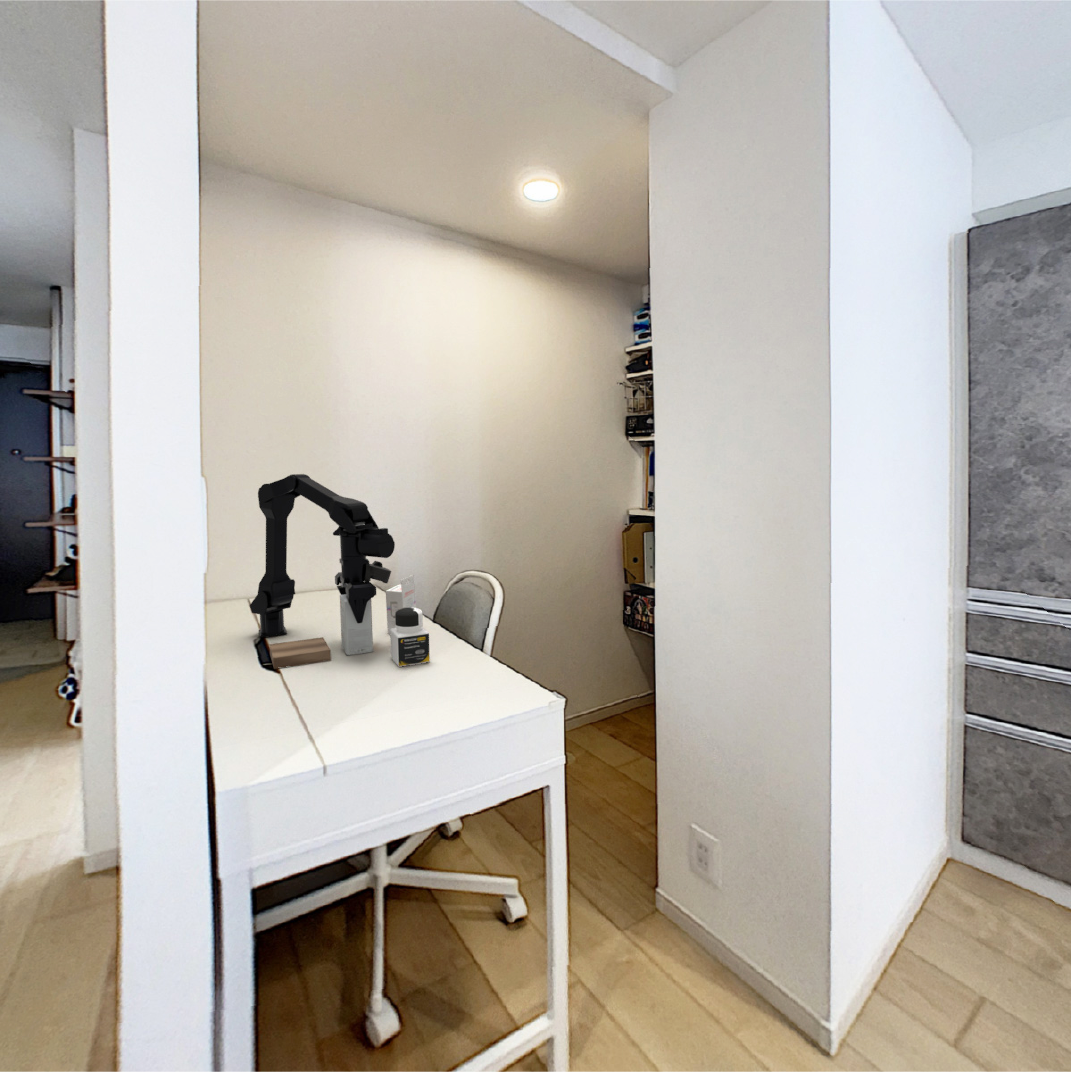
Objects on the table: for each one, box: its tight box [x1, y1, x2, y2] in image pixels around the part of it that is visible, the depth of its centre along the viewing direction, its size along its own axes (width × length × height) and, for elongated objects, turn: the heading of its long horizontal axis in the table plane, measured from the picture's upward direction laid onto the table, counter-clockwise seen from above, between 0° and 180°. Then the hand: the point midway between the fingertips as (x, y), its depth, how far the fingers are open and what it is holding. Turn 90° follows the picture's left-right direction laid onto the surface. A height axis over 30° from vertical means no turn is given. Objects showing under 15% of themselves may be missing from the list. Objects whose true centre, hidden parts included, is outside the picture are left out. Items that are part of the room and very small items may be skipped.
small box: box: [339, 594, 374, 656], centre depth 144 cm, size 8×6×13 cm
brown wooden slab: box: [268, 636, 332, 670], centre depth 138 cm, size 11×12×2 cm
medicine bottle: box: [389, 607, 430, 668], centre depth 136 cm, size 7×7×12 cm
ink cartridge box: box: [385, 573, 417, 635], centre depth 160 cm, size 9×5×15 cm, turn 168°
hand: (356, 618), depth 143 cm, fingers closed on small box, 8 cm apart
